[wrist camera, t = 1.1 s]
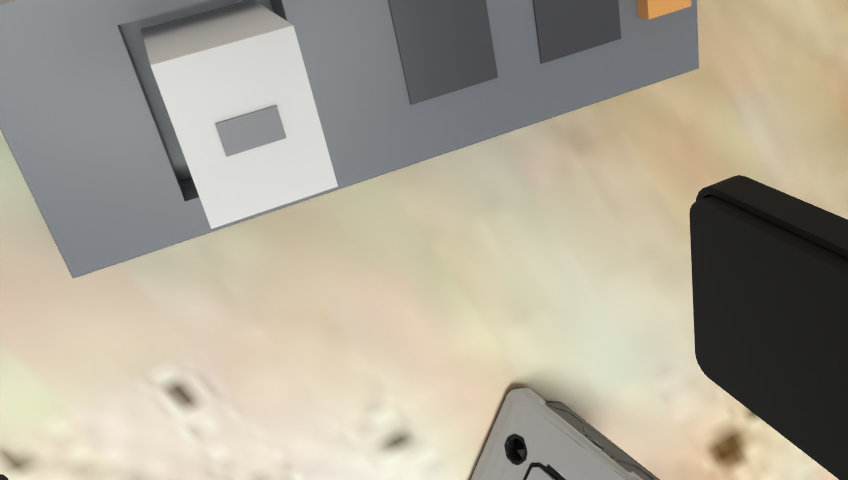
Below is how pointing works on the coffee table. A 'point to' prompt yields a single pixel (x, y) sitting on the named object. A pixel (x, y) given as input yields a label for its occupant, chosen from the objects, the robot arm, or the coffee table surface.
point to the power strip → (331, 87)
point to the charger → (240, 109)
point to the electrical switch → (550, 445)
